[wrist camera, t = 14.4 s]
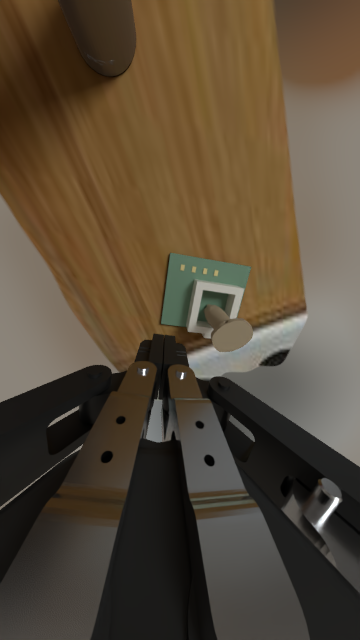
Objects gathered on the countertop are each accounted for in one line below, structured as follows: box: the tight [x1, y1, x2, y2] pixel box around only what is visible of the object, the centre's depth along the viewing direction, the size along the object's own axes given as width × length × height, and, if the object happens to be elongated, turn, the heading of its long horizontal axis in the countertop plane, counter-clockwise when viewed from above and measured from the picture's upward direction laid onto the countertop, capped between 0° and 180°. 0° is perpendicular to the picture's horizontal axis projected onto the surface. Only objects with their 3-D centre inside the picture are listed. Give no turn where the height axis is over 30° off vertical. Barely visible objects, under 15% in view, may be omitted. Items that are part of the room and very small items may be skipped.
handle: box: [204, 304, 253, 352], centre depth 34 cm, size 5×6×15 cm
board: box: [161, 253, 251, 327], centre depth 40 cm, size 16×18×1 cm
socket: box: [186, 279, 244, 338], centre depth 39 cm, size 12×10×4 cm
